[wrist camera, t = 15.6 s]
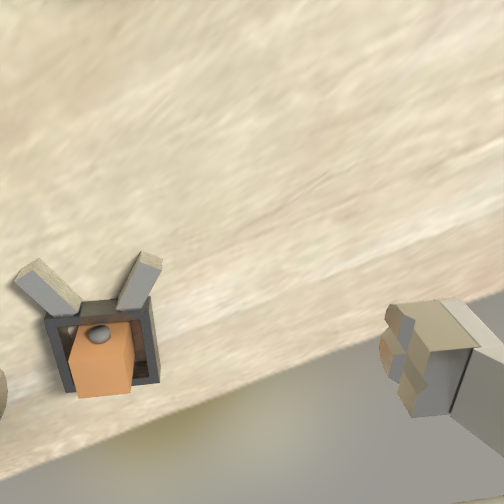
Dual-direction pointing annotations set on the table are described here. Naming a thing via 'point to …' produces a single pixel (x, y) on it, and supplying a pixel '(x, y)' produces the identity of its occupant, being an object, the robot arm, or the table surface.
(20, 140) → the table surface
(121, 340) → the block
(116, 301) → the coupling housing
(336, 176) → the table surface
